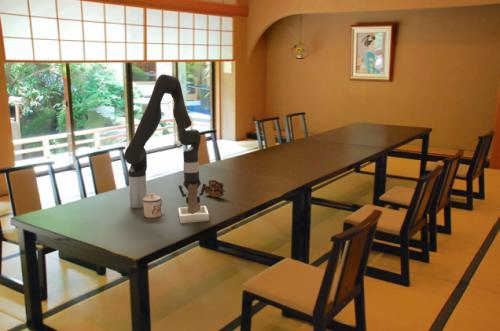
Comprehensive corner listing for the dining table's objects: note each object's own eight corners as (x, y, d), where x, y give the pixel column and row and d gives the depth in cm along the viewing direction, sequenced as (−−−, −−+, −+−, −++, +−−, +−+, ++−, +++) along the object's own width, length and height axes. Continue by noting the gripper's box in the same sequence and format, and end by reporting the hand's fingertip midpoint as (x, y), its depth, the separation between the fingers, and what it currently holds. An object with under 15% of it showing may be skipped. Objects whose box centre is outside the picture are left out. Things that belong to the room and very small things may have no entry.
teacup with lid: (154, 219, 247) (152, 196, 245) (140, 216, 252) (138, 194, 249) (169, 212, 258) (167, 190, 255) (155, 210, 262) (153, 188, 259)
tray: (180, 223, 241) (179, 216, 240) (178, 214, 254) (178, 207, 253) (209, 220, 243) (208, 213, 242) (205, 212, 257) (205, 205, 256)
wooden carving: (201, 195, 287) (200, 179, 285) (206, 193, 291) (206, 177, 288) (223, 200, 277) (222, 182, 275) (228, 198, 281) (227, 181, 279)
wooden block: (193, 214, 245) (194, 185, 241) (187, 212, 246) (188, 183, 242) (200, 210, 250) (201, 182, 246) (194, 209, 252) (195, 180, 248)
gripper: (205, 167, 248) (206, 200, 252) (176, 169, 246) (178, 202, 249) (206, 171, 241) (208, 204, 245) (177, 173, 239) (179, 207, 242)
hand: (193, 203), depth 247 cm, fingers closed on wooden block, 4 cm apart
